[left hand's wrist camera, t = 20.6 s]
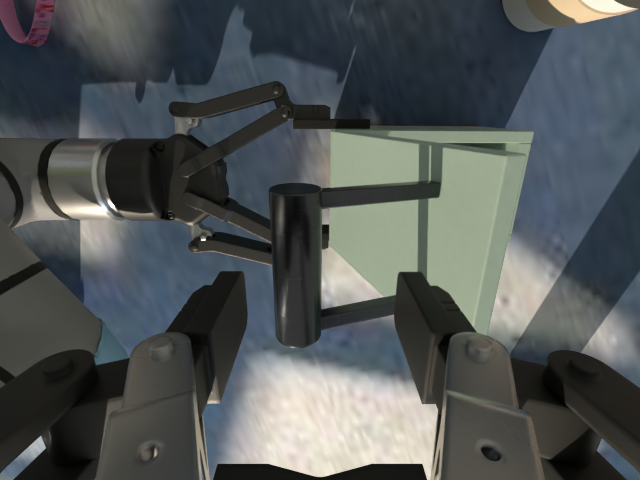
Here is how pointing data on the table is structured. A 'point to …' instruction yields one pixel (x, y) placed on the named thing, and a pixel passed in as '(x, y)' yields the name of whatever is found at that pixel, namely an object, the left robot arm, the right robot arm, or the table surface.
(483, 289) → the lid
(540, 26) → the coffee cup
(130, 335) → the table surface
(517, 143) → the chest
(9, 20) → the headband
